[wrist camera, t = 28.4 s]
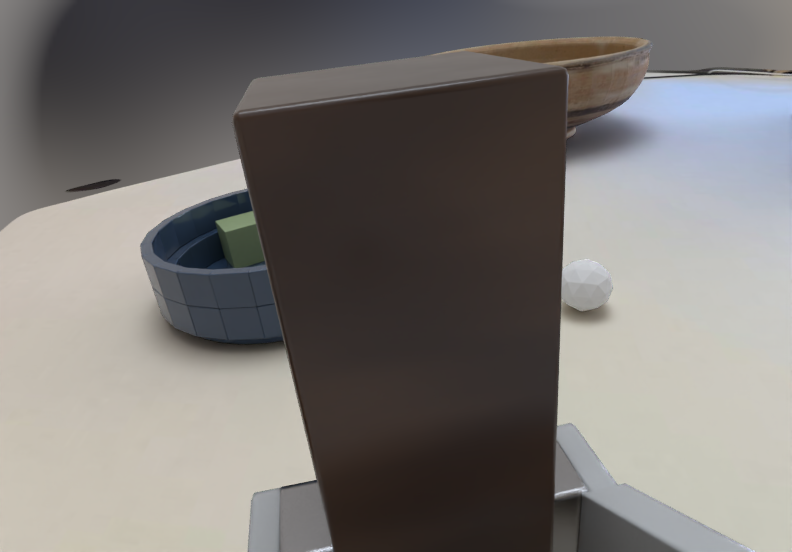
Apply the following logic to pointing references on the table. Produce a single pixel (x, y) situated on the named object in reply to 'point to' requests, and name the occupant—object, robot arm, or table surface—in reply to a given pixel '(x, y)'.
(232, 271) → the bowl
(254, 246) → the block
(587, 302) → the polyhedron
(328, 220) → the stick
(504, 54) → the ceramic bowl
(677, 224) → the table surface
